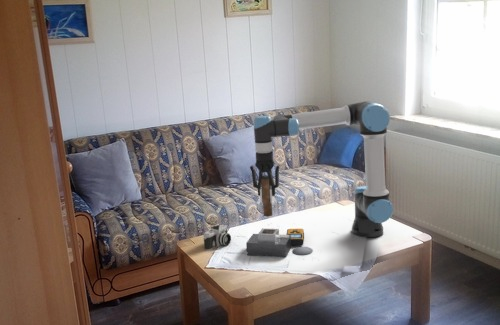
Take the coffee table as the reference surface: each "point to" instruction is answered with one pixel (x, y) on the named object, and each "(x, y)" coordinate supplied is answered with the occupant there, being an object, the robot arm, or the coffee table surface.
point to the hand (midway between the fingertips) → (267, 202)
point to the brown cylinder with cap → (266, 196)
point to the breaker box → (269, 244)
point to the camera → (216, 237)
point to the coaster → (302, 250)
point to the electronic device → (296, 236)
